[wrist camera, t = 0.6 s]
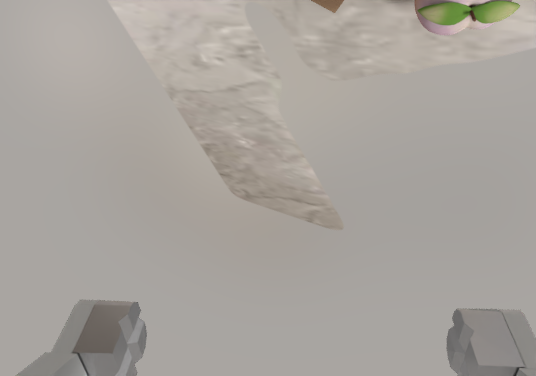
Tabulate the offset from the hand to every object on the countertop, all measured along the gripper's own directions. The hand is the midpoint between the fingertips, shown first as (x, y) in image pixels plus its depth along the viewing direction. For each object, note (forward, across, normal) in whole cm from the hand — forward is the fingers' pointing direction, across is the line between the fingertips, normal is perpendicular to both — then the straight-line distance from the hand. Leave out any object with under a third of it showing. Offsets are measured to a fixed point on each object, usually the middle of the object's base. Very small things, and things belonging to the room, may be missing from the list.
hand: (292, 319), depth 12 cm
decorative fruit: (+47, -16, +1) cm, 50 cm away
